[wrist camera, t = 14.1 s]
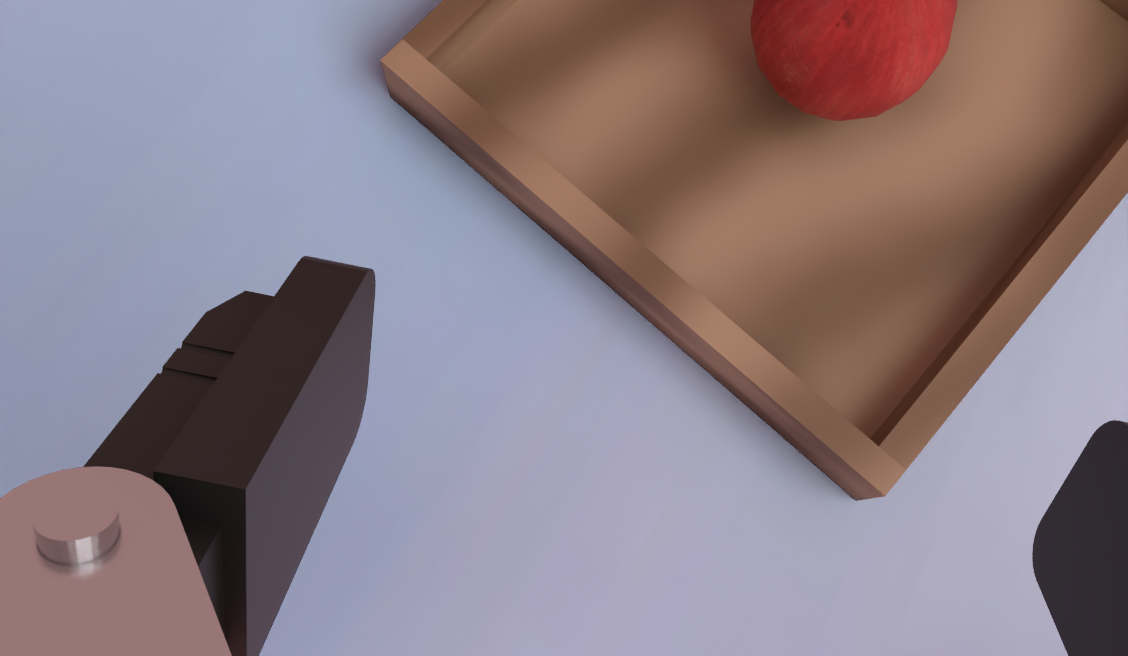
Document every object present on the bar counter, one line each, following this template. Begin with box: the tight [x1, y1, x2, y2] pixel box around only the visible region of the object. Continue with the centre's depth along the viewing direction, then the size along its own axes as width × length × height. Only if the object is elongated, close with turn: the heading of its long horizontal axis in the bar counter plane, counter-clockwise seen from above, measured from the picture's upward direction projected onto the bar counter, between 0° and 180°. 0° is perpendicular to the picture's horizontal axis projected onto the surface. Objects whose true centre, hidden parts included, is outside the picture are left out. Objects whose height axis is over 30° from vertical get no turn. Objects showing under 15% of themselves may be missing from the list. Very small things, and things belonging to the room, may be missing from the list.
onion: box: [751, 0, 957, 121], centre depth 29 cm, size 6×6×8 cm
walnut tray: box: [380, 0, 1128, 500], centre depth 32 cm, size 20×20×2 cm
